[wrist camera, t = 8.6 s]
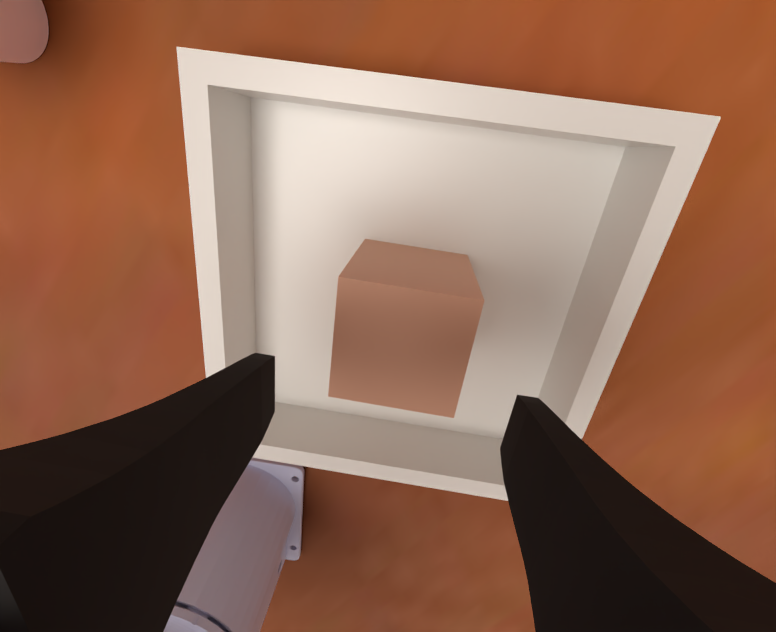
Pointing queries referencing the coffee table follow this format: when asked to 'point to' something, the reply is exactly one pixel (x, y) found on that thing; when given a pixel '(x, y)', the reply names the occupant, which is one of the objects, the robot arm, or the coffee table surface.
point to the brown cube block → (404, 327)
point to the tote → (423, 242)
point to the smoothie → (22, 30)
